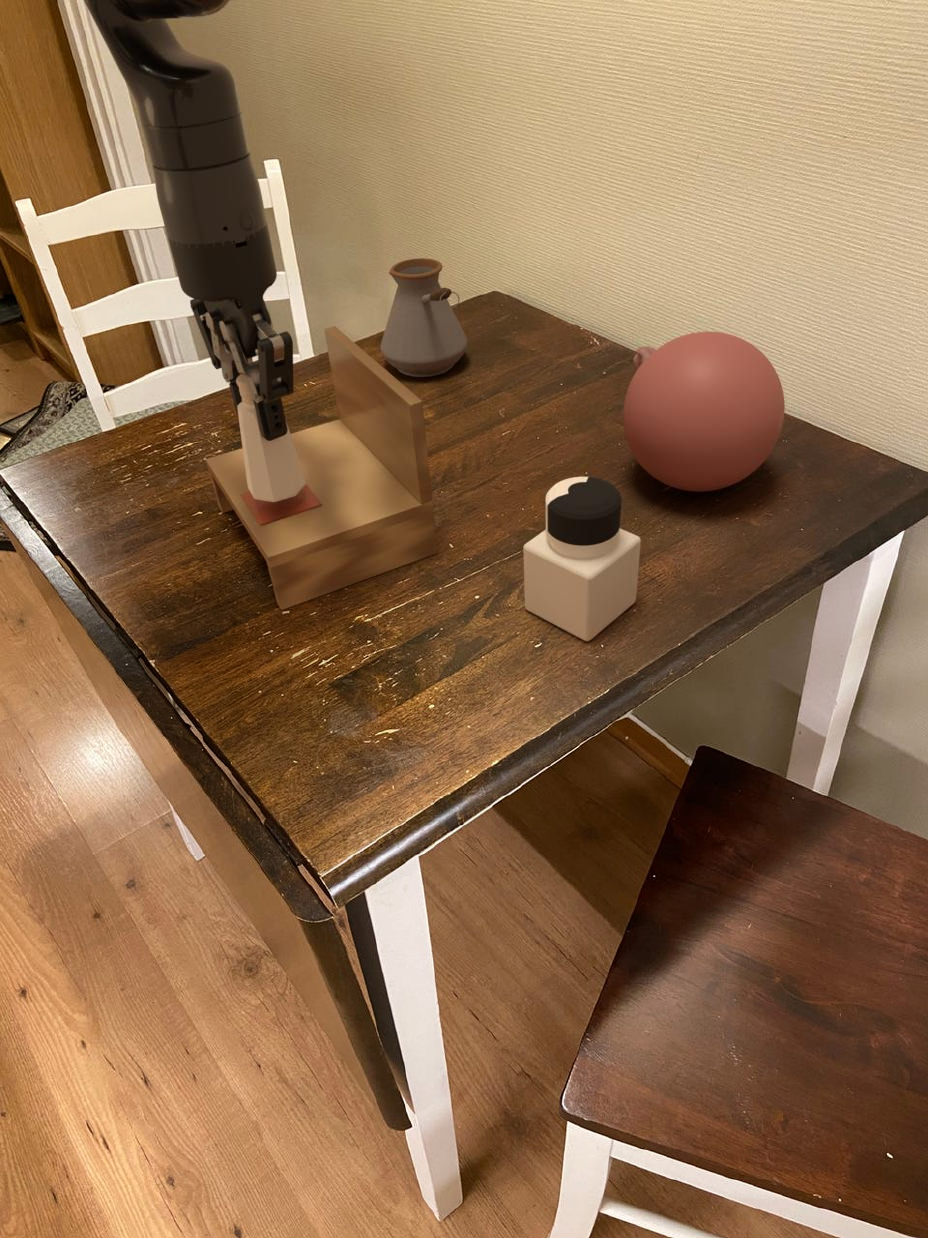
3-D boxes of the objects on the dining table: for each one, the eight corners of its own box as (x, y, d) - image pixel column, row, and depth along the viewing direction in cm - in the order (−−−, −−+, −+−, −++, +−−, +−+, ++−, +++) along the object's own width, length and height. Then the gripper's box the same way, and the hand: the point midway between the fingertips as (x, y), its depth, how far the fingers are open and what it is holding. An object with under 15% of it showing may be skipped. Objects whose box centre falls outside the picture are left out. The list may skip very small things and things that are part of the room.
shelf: (281, 610, 80) (241, 455, 70) (219, 508, 94) (178, 366, 83) (437, 553, 85) (422, 400, 75) (357, 464, 99) (334, 325, 89)
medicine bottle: (637, 602, 78) (647, 485, 70) (587, 644, 74) (592, 526, 66) (573, 571, 82) (575, 458, 74) (523, 609, 78) (520, 494, 70)
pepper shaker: (308, 469, 84) (287, 359, 77) (304, 500, 80) (280, 387, 73) (252, 474, 84) (225, 364, 77) (244, 505, 80) (214, 392, 73)
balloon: (705, 414, 103) (722, 281, 93) (800, 503, 88) (832, 356, 78) (581, 439, 100) (585, 305, 90) (657, 534, 85) (671, 386, 75)
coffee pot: (374, 355, 121) (359, 242, 111) (454, 340, 123) (447, 228, 113) (412, 424, 105) (399, 300, 95) (503, 406, 107) (499, 282, 98)
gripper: (133, 216, 69) (190, 415, 81) (212, 257, 61) (264, 473, 72) (219, 195, 73) (262, 388, 84) (306, 230, 64) (342, 441, 75)
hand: (263, 426), depth 78 cm, fingers closed on pepper shaker, 4 cm apart
